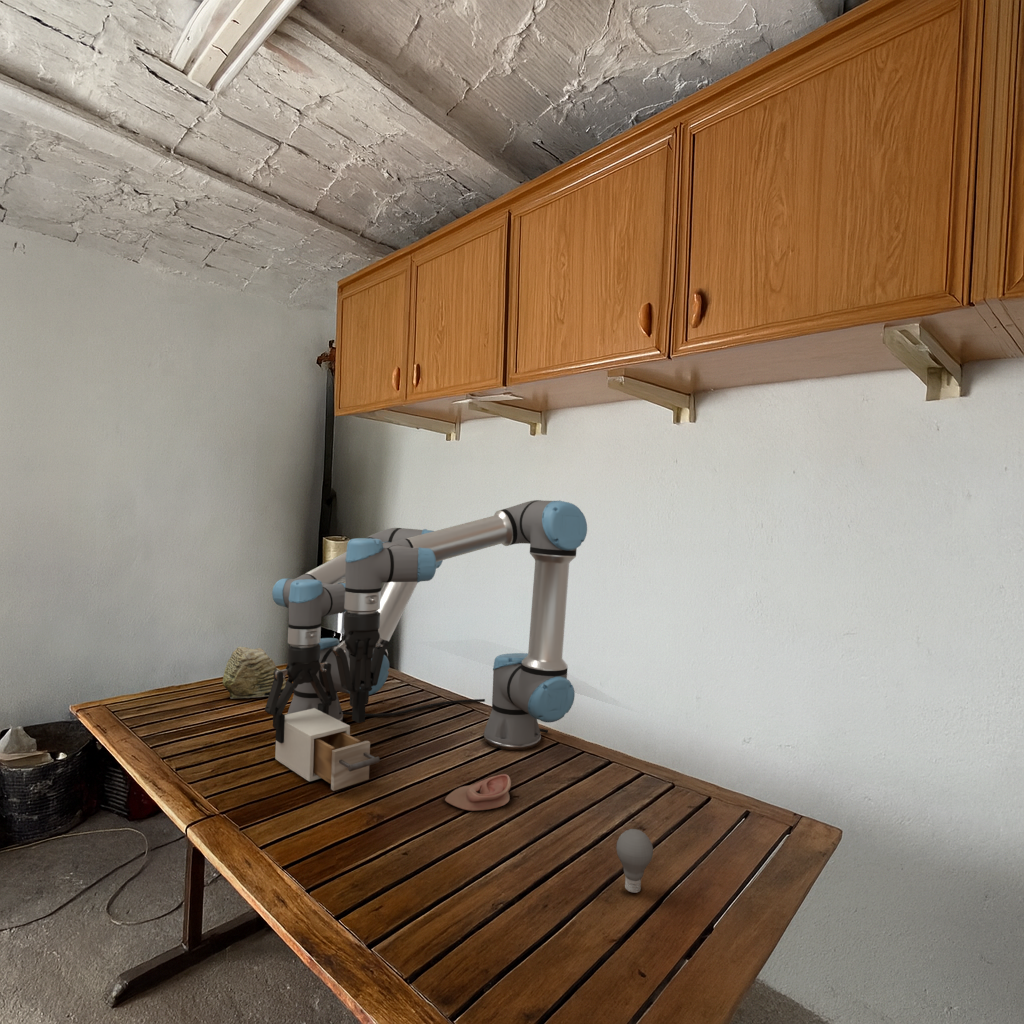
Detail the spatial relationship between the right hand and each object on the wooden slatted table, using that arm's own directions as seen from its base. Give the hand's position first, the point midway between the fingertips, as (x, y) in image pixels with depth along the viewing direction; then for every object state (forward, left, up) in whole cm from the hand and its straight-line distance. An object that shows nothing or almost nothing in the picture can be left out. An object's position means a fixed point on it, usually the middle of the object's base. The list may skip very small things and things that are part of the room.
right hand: (358, 720), depth 135 cm
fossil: (+18, -76, -16) cm, 80 cm away
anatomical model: (-24, +11, -16) cm, 31 cm away
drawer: (+3, -6, -15) cm, 16 cm away
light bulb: (-37, +49, -16) cm, 64 cm away
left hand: (+9, -23, -11) cm, 27 cm away
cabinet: (+7, -18, -16) cm, 25 cm away
